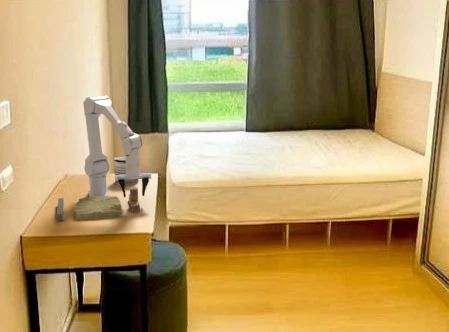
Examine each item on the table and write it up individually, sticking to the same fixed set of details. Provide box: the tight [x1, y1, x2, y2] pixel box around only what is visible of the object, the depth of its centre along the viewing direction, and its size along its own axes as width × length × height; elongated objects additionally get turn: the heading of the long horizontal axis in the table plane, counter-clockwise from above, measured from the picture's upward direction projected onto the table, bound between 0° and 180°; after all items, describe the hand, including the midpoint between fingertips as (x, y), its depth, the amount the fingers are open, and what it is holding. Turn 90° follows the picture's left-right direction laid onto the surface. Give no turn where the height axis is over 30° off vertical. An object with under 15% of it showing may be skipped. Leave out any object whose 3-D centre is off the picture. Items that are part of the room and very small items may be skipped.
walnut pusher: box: [128, 186, 141, 214], centre depth 232 cm, size 16×3×8 cm, turn 14°
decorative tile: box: [73, 195, 123, 221], centre depth 227 cm, size 19×20×4 cm
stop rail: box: [56, 197, 65, 222], centre depth 223 cm, size 20×2×3 cm, turn 14°
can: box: [113, 156, 140, 186], centre depth 266 cm, size 11×11×12 cm
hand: (134, 196), depth 232 cm, fingers open, 7 cm apart
